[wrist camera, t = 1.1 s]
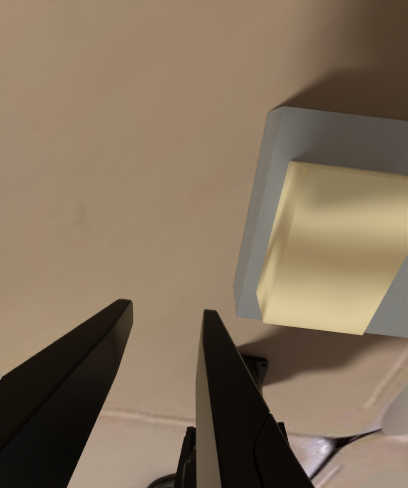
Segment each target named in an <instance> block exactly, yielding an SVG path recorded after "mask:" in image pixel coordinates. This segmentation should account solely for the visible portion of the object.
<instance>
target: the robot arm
mask: <svg viewBox="0 0 408 488" xmlns="http://www.w3.org/2000/svg"><path fill="white" fill-rule="evenodd" d="M132 325H133V303H132V301H131V300H128V299H118V300H116V301H115V302H113V303H112V304H110V305H109V306H107V307H106V308H104V309H103V310H101V311H100V312H98V313H97V314H95V315H94V316H92V317H91V318H89V319H88V320H86V321H85V322H83V323H82V324H80V325H79V326H77V327H76V328H74V329H73V330H71V331H70V332H68V333H67V334H65V335H64V336H62V337H61V338H59V339H58V340H56V341H55V342H53V343H52V344H50V345H49V346H47V347H46V348H44V349H43V350H41V351H40V352H38V353H37V354H35V355H34V356H32V357H31V358H29V359H28V360H26V361H25V362H24V363H22V364H21V365H19V366H18V367H16V368H15V369H13V370H12V371H10V372H9V373H7V374H6V375H4V376H3V377H2V378H1V380H0V488H67V486H68V483H69V481H70V479H71V477H72V474H73V472H74V470H75V468H76V465H77V463H78V461H79V459H80V456H81V454H82V452H83V449H84V447H85V445H86V443H87V440H88V438H89V436H90V434H91V431H92V429H93V427H94V425H95V422H96V420H97V418H98V415H99V413H100V411H101V409H102V406H103V404H104V402H105V400H106V397H107V395H108V393H109V391H110V388H111V386H112V384H113V381H114V379H115V377H116V374H117V372H118V369H119V366H120V363H121V359H122V356H123V353H124V350H125V347H126V344H127V341H128V338H129V334H130V331H131V328H132ZM267 369H268V361H267V360H266V359H262V358H254V357H246V356H241V355H240V353H239V352H238V350H237V348H236V346H235V344H234V342H233V340H232V339H231V337H230V335H229V333H228V331H227V329H226V327H225V325H224V324H223V322H222V320H221V318H220V316H219V314H218V312H217V311H216V310H209V309H205V310H204V312H203V318H202V326H201V334H200V343H199V353H198V363H197V373H196V427H195V428H194V427H193V426H191V427H187V431H186V436H185V437H184V440H183V445H182V450H181V454H180V459H179V463H178V468H177V472H176V477H175V481H174V486H173V488H315V487H314V485H313V484H312V482H311V481H310V479H309V477H308V476H307V474H306V473H305V471H304V469H303V468H302V466H301V465H300V463H299V461H298V460H297V458H296V457H295V455H294V453H293V451H292V449H291V448H290V446H289V442H288V438H287V434H286V430H285V426H284V422H276V421H275V419H274V417H273V415H272V414H271V413H270V410H269V408H268V406H267V404H266V402H265V400H264V398H263V393H262V387H261V386H262V383H263V380H264V377H265V374H266V371H267Z"/></svg>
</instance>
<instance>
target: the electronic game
mask: <svg viewBox="0 0 408 488" xmlns="http://www.w3.org/2000/svg"><path fill="white" fill-rule="evenodd" d="M174 481H175V479H173V480H169V481H165V482H162V483H160V484H158V485H156V486H155V487H154V488H173V486H174Z"/></svg>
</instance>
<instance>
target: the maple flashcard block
mask: <svg viewBox="0 0 408 488" xmlns="http://www.w3.org/2000/svg"><path fill="white" fill-rule="evenodd" d="M407 254H408V176H406V175H402V174H397V173H389V172H380V171H372V170H364V169H355V168H347V167H339V166H331V165H322V164H314V163H306V162H298V161H289V165H288V169H287V173H286V177H285V181H284V185H283V188H282V192H281V196H280V200H279V204H278V208H277V212H276V216H275V220H274V224H273V228H272V232H271V236H270V239H269V243H268V247H267V251H266V255H265V259H264V263H263V267H262V271H261V275H260V279H259V283H258V287H257V290H256V294H257V298H258V303H259V307H260V311H261V315H262V320H263V323H268V324H276V325H284V326H292V327H300V328H308V329H316V330H325V331H333V332H341V333H349V334H357V335H363V333H364V331H365V330H366V328H367V326H368V324H369V323H370V321H371V319H372V317H373V315H374V314H375V312H376V310H377V308H378V306H379V305H380V303H381V301H382V299H383V297H384V296H385V294H386V292H387V290H388V288H389V287H390V285H391V283H392V281H393V279H394V278H395V276H396V274H397V272H398V271H399V269H400V267H401V265H402V263H403V262H404V260H405V258H406V256H407Z"/></svg>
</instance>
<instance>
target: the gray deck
mask: <svg viewBox="0 0 408 488" xmlns="http://www.w3.org/2000/svg"><path fill="white" fill-rule="evenodd" d="M289 161H298V162H306V163H314V164H322V165H331V166H339V167H347V168H355V169H364V170H372V171H380V172H389V173H397V174H402V175H406V176H408V121H404V120H396V119H387V118H379V117H371V116H362V115H354V114H346V113H337V112H329V111H321V110H312V109H304V108H296V107H287V106H282V107H279V108H277V109H274V110H272V111H269V112H268V115H267V120H266V125H265V130H264V135H263V140H262V145H261V150H260V155H259V160H258V165H257V170H256V175H255V180H254V185H253V190H252V195H251V200H250V205H249V210H248V215H247V220H246V225H245V230H244V235H243V240H242V245H241V250H240V255H239V260H238V265H237V270H236V275H235V280H234V285H233V287H234V298H235V308H236V317H242V318H250V319H258V320H262V315H261V311H260V307H259V303H258V298H257V294H256V290H257V287H258V283H259V279H260V275H261V271H262V267H263V263H264V259H265V255H266V251H267V247H268V243H269V239H270V236H271V232H272V228H273V224H274V220H275V216H276V212H277V208H278V204H279V200H280V196H281V192H282V188H283V185H284V181H285V177H286V173H287V169H288V165H289ZM364 333H372V334H380V335H388V336H396V337H404V338H408V254H407V256H406V258H405V260H404V262H403V263H402V265H401V267H400V269H399V271H398V272H397V274H396V276H395V278H394V279H393V281H392V283H391V285H390V287H389V288H388V290H387V292H386V294H385V296H384V297H383V299H382V301H381V303H380V305H379V306H378V308H377V310H376V312H375V314H374V315H373V317H372V319H371V321H370V323H369V324H368V326H367V328H366V330H365V331H364Z"/></svg>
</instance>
